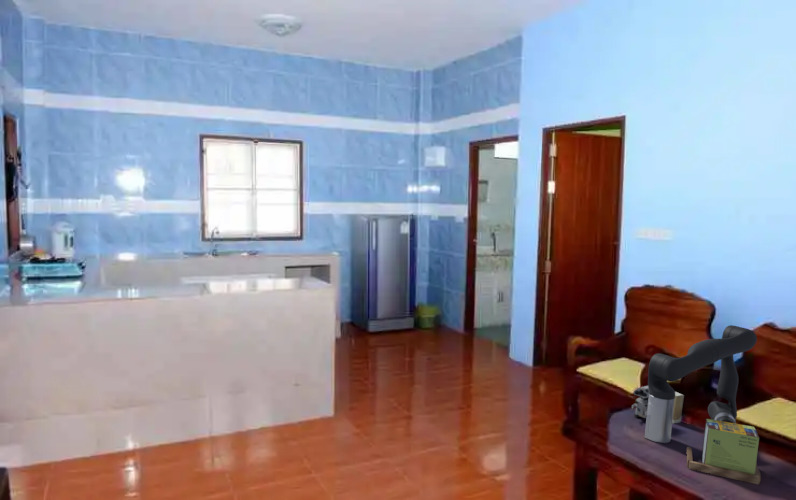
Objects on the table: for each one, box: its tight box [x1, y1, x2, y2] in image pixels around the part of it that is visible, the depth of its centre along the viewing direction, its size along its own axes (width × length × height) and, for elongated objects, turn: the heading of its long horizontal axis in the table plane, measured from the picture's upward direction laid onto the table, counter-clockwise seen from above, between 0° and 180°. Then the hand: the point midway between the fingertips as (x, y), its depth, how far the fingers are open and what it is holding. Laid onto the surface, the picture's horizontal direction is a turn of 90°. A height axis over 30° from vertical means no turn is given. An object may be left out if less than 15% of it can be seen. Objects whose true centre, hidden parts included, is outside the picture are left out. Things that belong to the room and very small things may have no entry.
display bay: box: [686, 446, 762, 485], centre depth 203 cm, size 22×14×2 cm, turn 65°
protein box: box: [701, 418, 760, 475], centre depth 202 cm, size 10×15×16 cm
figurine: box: [631, 384, 649, 419], centre depth 243 cm, size 9×12×15 cm
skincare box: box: [672, 391, 685, 424], centre depth 246 cm, size 6×4×12 cm
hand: (729, 441), depth 210 cm, fingers closed
